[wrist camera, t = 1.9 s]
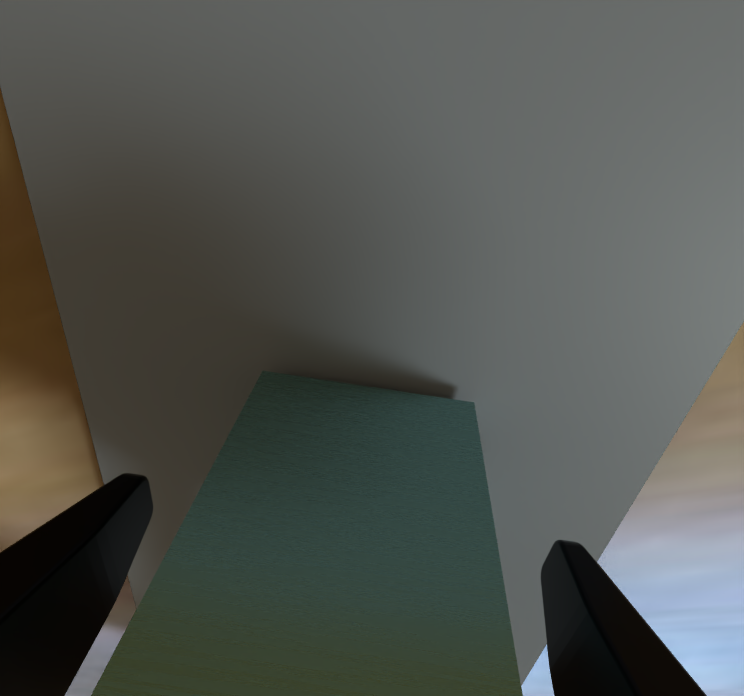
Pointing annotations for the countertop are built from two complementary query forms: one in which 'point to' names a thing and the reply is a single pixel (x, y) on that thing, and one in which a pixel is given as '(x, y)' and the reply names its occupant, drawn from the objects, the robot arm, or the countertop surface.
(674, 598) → the countertop surface
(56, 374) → the countertop surface
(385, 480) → the green cube on rod
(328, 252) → the base board
